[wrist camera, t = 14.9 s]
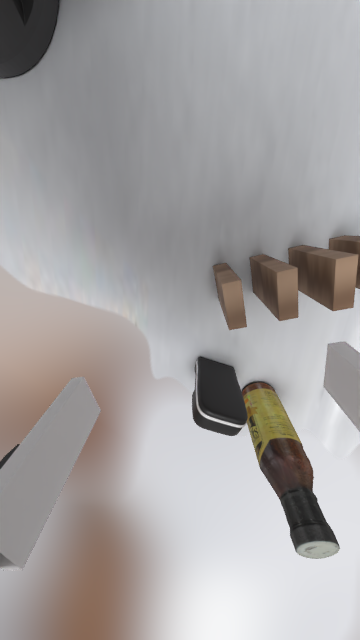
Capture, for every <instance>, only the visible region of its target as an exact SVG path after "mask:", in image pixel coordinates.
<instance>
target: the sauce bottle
mask: <svg viewBox="0 0 360 640" xmlns="http://www.w3.org/2000/svg"><path fill="white" fill-rule="evenodd" d="M242 395H243V398H244V402H245V406H246V409H247V414H248V419H247V424H248V428H249V431H250V435H251V438H252V442H253V445H254V448H255V452H256V456H257V459H258V462H259V466H260V469H261V471H262V472H263V474H264V475H265V476H266V478H267V480H268V481H269V483H270V484H271V486H272V488H273V489H274V491H275V492H276V494H277V496H278V497H279V499H280V501H281V504H282V506H283V509H284V511H285V515H286V518H287V521H288V524H289V526H290V536H291V539H292V542H293V544H294V547H295V550H296V552H297V553H298V554H299V555H301V556H303V557H307V558H314V559H319V558H326V557H329V556H332V555H334V554H336V553H338V551H339V549H340V547H339V544H338V542H337V540H336V537H335V535H334V533H333V531H332V529H331V528H330V526H329V525H328V523H327V522H326V520H325V518H324V516H323V513H322V511H321V509H320V507H319V505H318V503H317V498H316V496H315V495H314V493H313V491H312V488H313V478H314V477H313V469H312V466H311V464H310V461H309V459H308V458H307V456H306V454H305V452H304V450H303V446H302V443H301V441H300V439H299V437H298V435H297V433H296V431H295V429H294V427H293V425H292V423H291V421H290V419H289V417H288V415H287V413H286V411H285V409H284V407H283V405H282V403H281V401H280V399H279V397H278V395H277V394H276V393H275V391H274V389H273V388H272V387H271V386H270V385H267V384H266V383H261V382H258V383H253V384H250V385H248V386H246V388H245V389H244V390H243V392H242Z"/></svg>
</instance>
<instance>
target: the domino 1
mask: <svg viewBox="0 0 360 640" xmlns="http://www.w3.org/2000/svg"><path fill="white" fill-rule="evenodd" d="M213 269H214V275H215V281H216V286H217V292H218V298H219V302H220V304H221V307H222V310H223V313H224V316H225V319H226V322H227V325H228V328H229V330H232V329H238V328H244V327H247V324H246V316H245V308H244V300H243V291H242V283H241V279H240V278H239V277H238V276H237V275H236V274H235V273H234V271H233V270H232V269H231V268H230V267H229V266H228V265H227V264H226V263H223V264H219V265H214V266H213Z"/></svg>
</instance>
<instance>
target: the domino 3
mask: <svg viewBox="0 0 360 640" xmlns="http://www.w3.org/2000/svg"><path fill="white" fill-rule="evenodd" d="M288 253H289V265H292V266H294V267H297V268H298V290H299V291H301V292H302V293H304V294H305V295H307V296H309V297H310V298H312V299H314V300H315V301H317V302H319V303H320V304H322V305H324V306H325V307H327V308H328V309H330V310H332V311H337V310H342V309H348V308H353V305H354V295H355V285H356V275H357V265H358V254H352V253H346V252H340V251H335V250H329V249H323V248H317V247H311V246H305V245H301V246H297V247H292V248H288Z"/></svg>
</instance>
